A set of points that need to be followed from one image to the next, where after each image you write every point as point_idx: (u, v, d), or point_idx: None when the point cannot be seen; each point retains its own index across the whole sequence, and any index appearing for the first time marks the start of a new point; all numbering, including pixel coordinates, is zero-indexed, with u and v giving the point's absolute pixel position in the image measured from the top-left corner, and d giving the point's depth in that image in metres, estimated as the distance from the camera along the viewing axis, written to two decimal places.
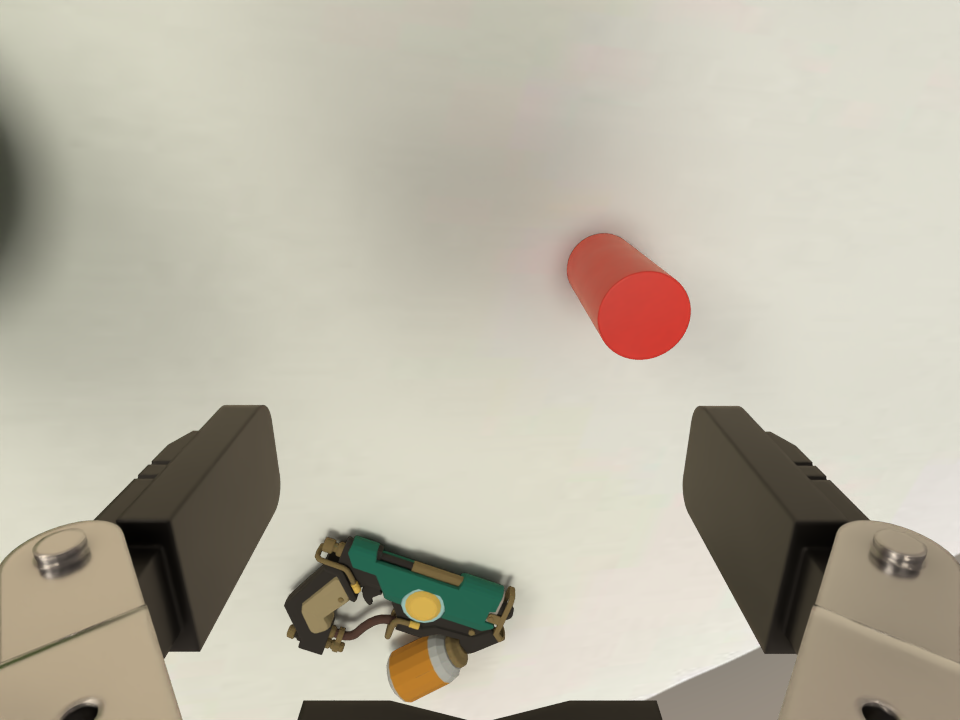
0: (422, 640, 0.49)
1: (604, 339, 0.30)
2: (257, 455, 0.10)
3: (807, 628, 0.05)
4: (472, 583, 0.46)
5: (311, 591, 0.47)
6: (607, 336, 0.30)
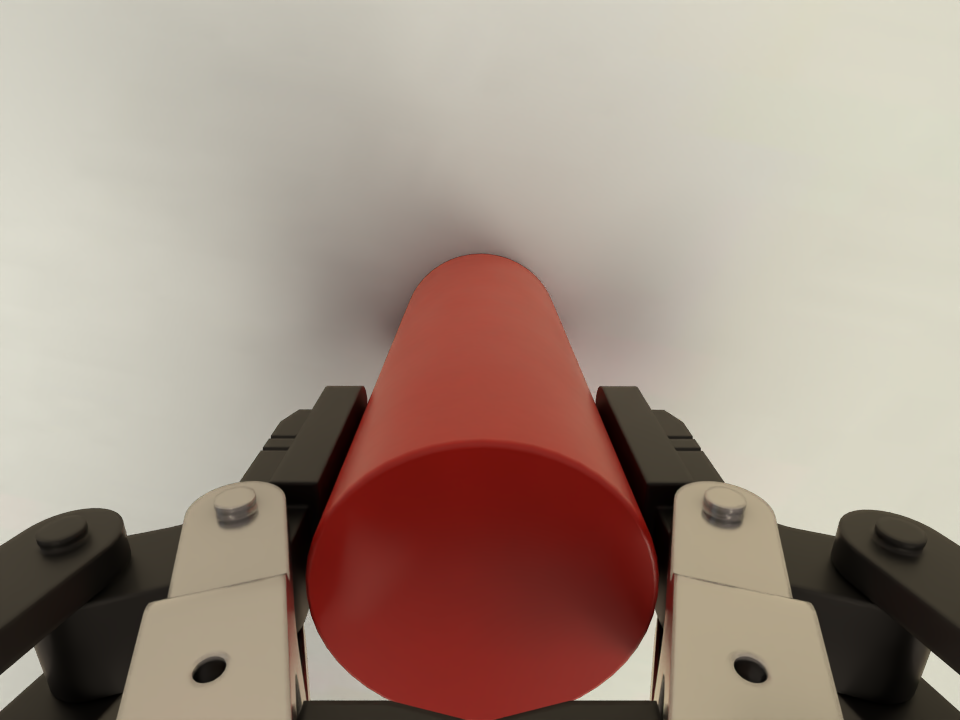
0: None
1: (647, 544, 0.07)
2: None
3: (675, 599, 0.05)
4: None
5: None
6: (633, 552, 0.07)
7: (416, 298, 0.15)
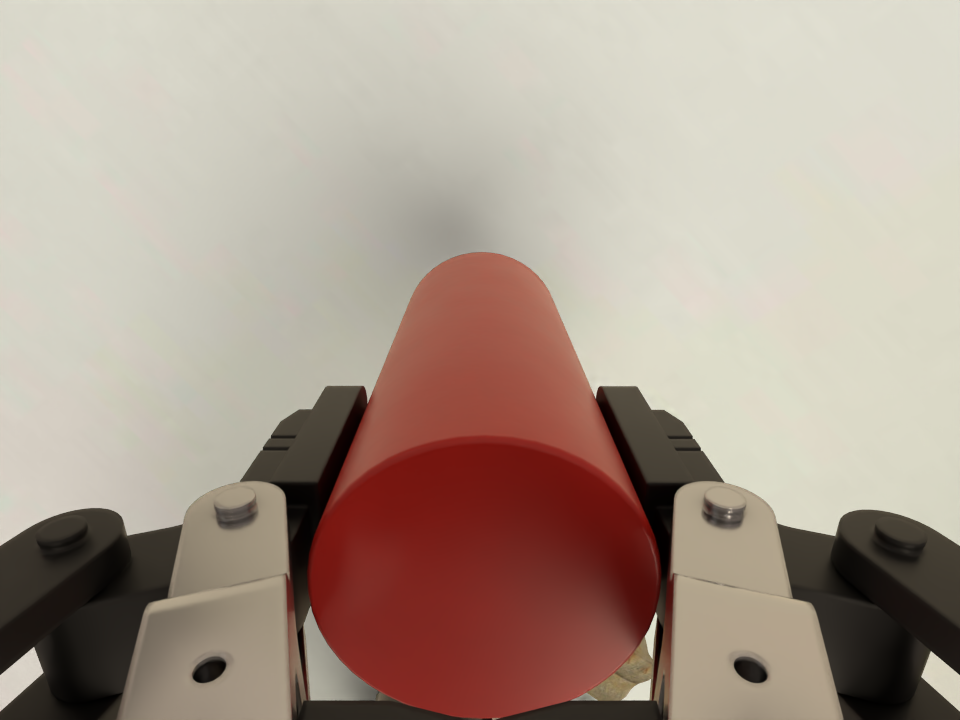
0: None
1: (649, 541, 0.07)
2: None
3: (674, 599, 0.05)
4: None
5: None
6: (636, 550, 0.07)
7: (417, 296, 0.15)
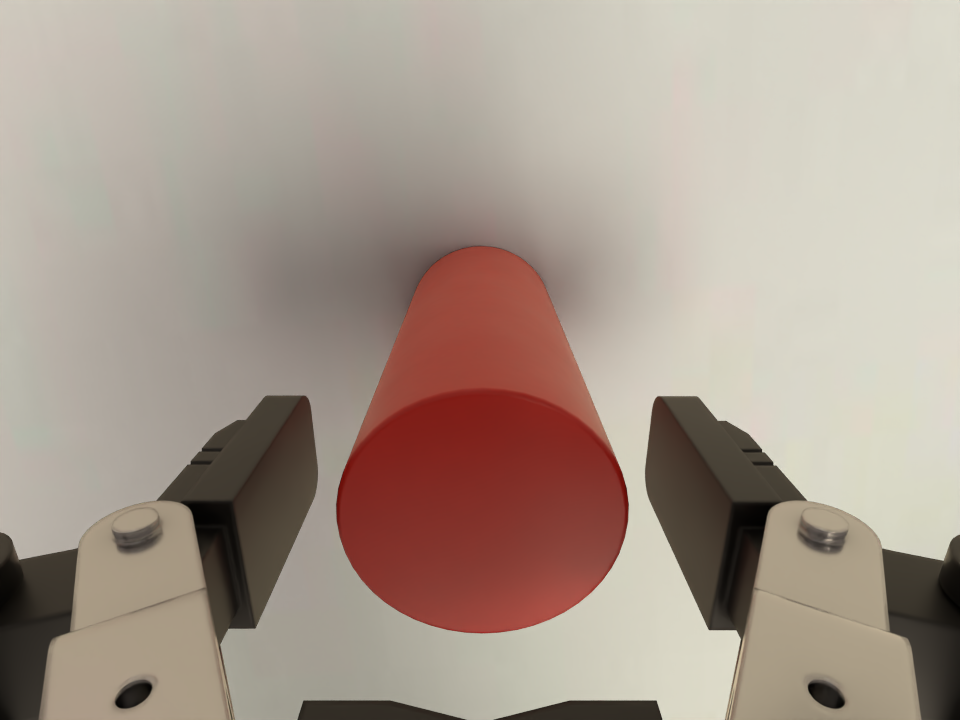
0: None
1: (617, 477, 0.09)
2: (299, 444, 0.11)
3: (751, 612, 0.05)
4: None
5: None
6: (607, 485, 0.09)
7: (423, 285, 0.17)
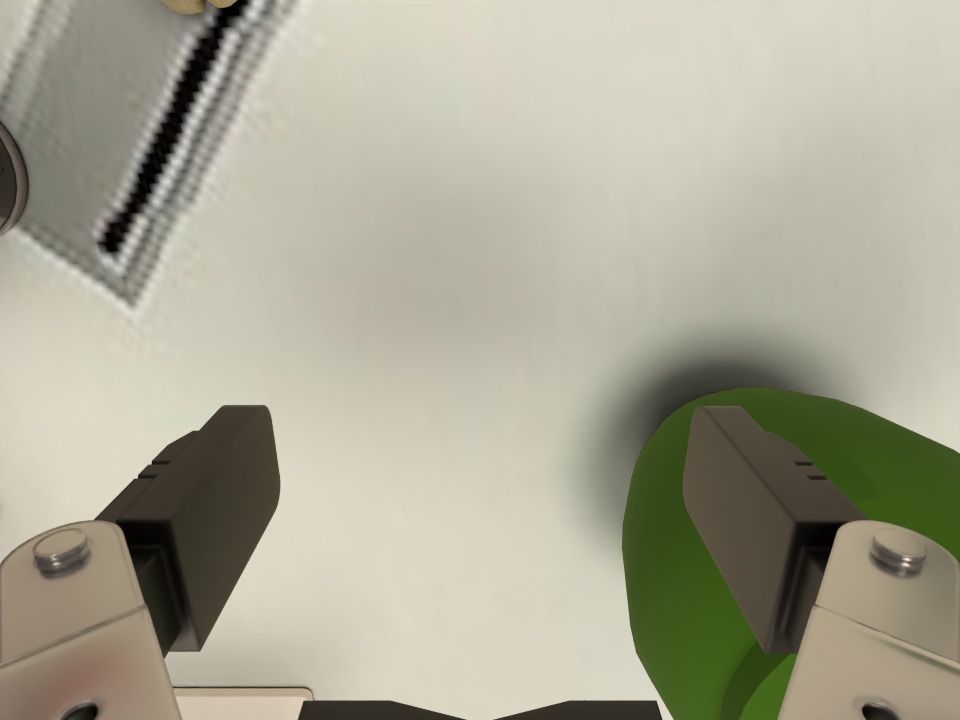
0: None
1: None
2: (256, 455, 0.10)
3: (807, 628, 0.05)
4: None
5: None
6: None
7: None
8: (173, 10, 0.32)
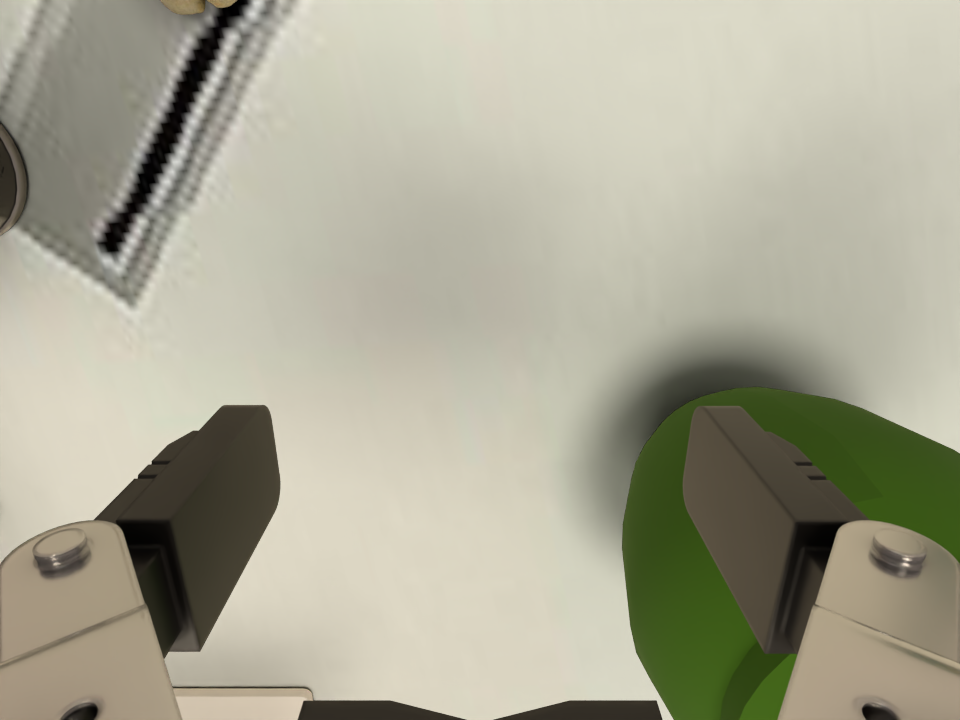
0: None
1: None
2: (256, 455, 0.10)
3: (807, 628, 0.05)
4: None
5: None
6: None
7: None
8: (173, 10, 0.32)
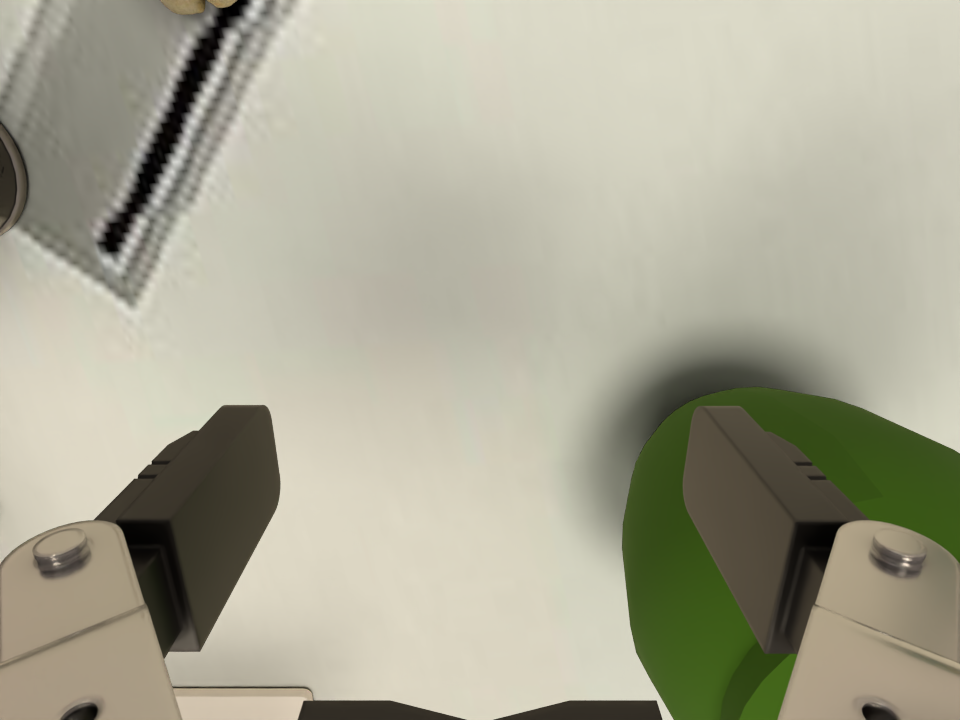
0: None
1: None
2: (256, 455, 0.10)
3: (807, 628, 0.05)
4: None
5: None
6: None
7: None
8: (173, 10, 0.32)
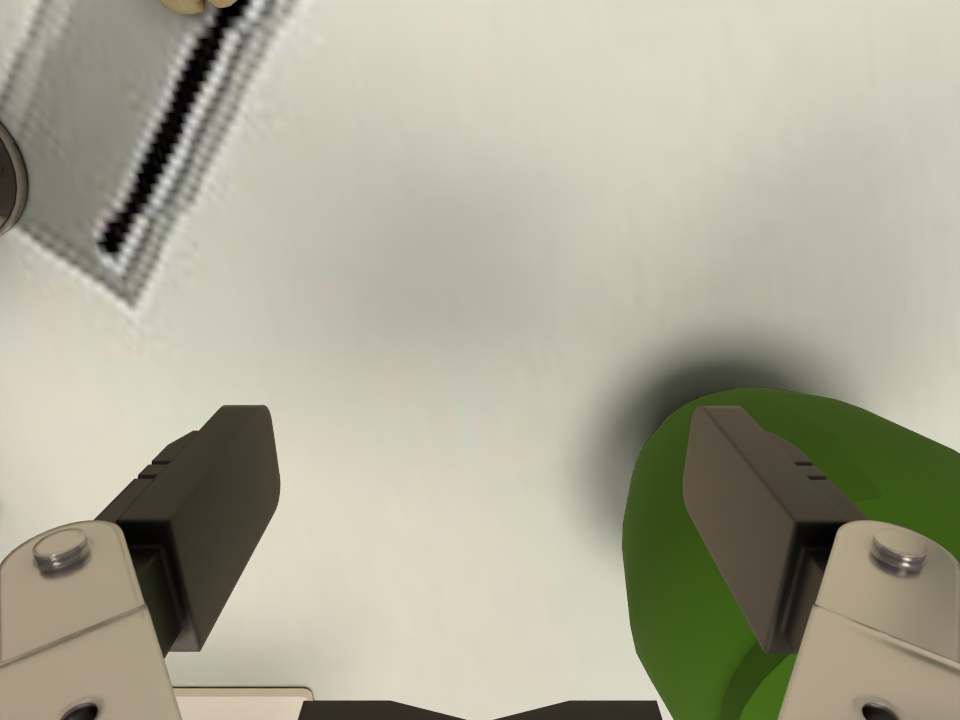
0: None
1: None
2: (256, 455, 0.10)
3: (807, 628, 0.05)
4: None
5: None
6: None
7: None
8: (173, 10, 0.32)
